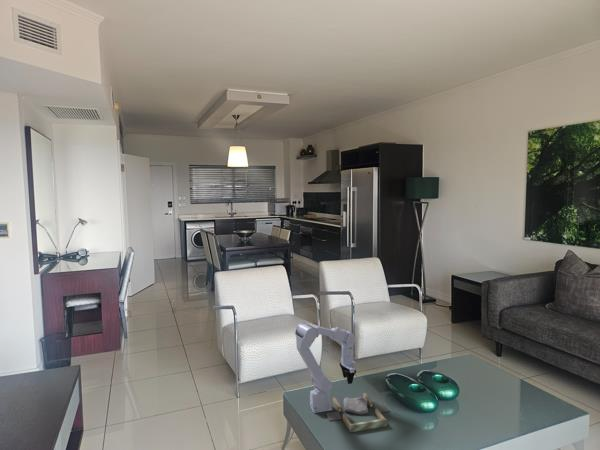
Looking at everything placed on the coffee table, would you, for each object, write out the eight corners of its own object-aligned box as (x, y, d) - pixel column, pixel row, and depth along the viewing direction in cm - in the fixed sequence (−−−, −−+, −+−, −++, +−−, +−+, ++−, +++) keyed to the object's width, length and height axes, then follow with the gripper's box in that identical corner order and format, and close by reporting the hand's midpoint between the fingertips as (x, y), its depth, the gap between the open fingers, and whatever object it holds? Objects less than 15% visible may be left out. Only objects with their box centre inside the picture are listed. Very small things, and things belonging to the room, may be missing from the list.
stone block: (368, 418, 186) (367, 403, 195) (368, 410, 185) (367, 395, 194) (343, 418, 187) (343, 403, 197) (343, 410, 186) (342, 395, 195)
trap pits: (329, 421, 181) (329, 420, 181) (325, 414, 187) (325, 413, 187) (389, 411, 187) (389, 410, 187) (384, 405, 193) (384, 404, 193)
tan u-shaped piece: (350, 432, 172) (350, 425, 172) (332, 402, 197) (332, 396, 197) (386, 426, 176) (386, 419, 176) (365, 397, 201) (365, 391, 200)
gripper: (360, 359, 193) (360, 386, 194) (349, 348, 207) (350, 372, 208) (346, 361, 191) (346, 387, 192) (337, 349, 205) (337, 374, 206)
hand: (347, 380), depth 200 cm, fingers open, 6 cm apart
